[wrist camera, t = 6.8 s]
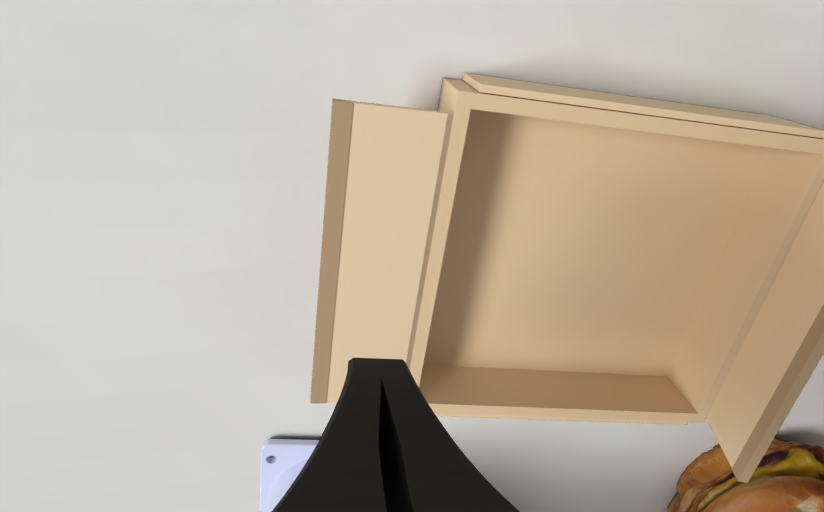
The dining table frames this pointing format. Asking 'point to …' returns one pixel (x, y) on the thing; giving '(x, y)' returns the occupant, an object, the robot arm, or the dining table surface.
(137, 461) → the dining table surface
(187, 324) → the dining table surface
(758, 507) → the burger
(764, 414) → the flap
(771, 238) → the carton
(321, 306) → the flap
